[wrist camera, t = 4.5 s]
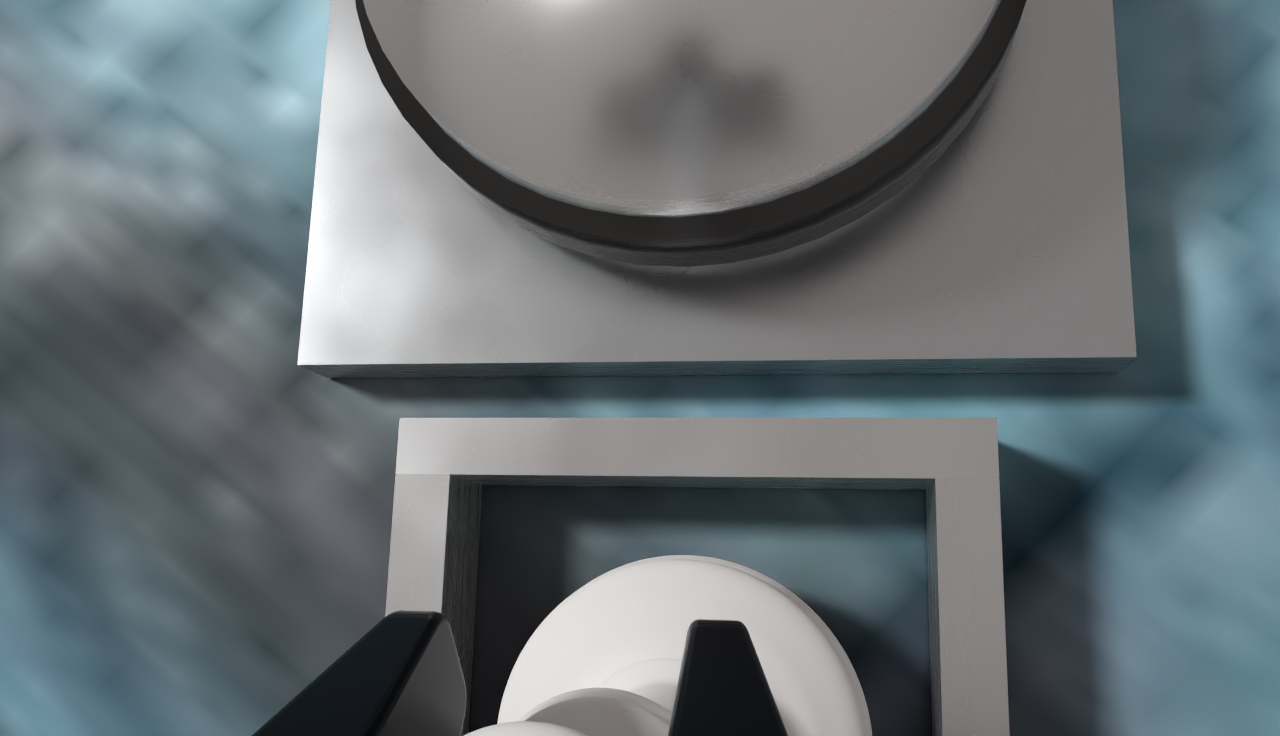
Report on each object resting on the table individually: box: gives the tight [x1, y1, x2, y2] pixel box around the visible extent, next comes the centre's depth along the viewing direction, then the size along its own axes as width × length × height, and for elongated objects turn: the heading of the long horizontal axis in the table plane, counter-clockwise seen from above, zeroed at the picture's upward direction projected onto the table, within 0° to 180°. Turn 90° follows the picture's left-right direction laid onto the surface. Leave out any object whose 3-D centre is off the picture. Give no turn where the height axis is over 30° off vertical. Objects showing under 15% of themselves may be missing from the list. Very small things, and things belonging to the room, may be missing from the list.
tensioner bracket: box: [298, 0, 1137, 736], centre depth 15 cm, size 21×12×4 cm, turn 179°
